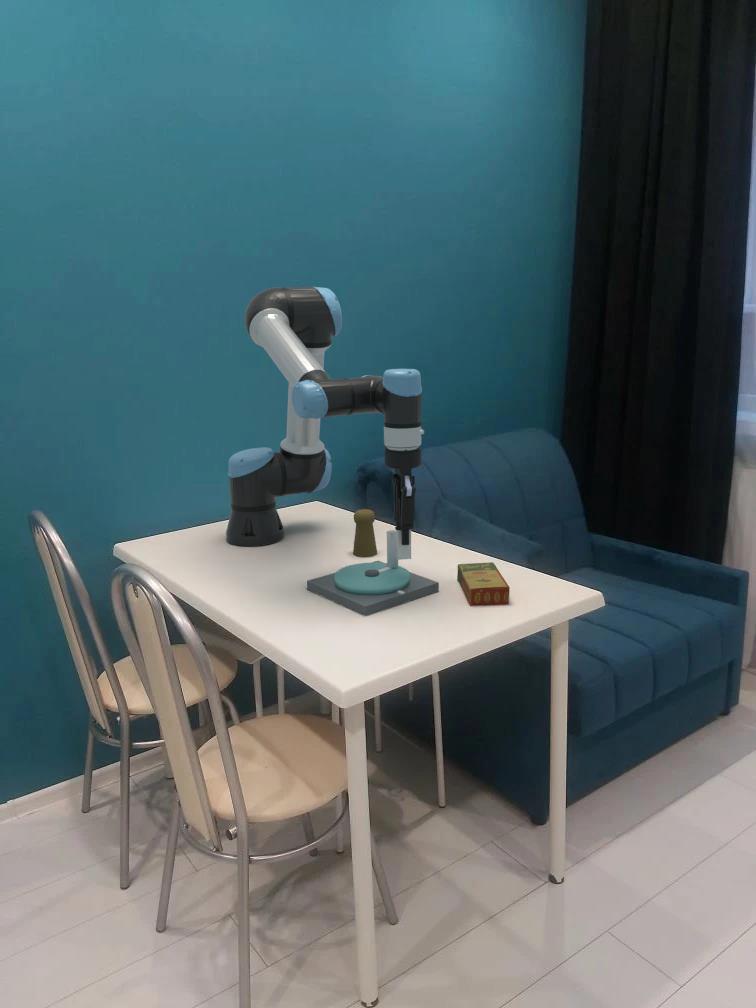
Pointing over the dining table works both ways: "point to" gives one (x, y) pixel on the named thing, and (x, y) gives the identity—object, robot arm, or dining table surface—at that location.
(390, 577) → the dial
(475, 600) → the carton
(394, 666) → the dining table surface
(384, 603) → the base plate
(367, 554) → the cork
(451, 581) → the dining table surface
